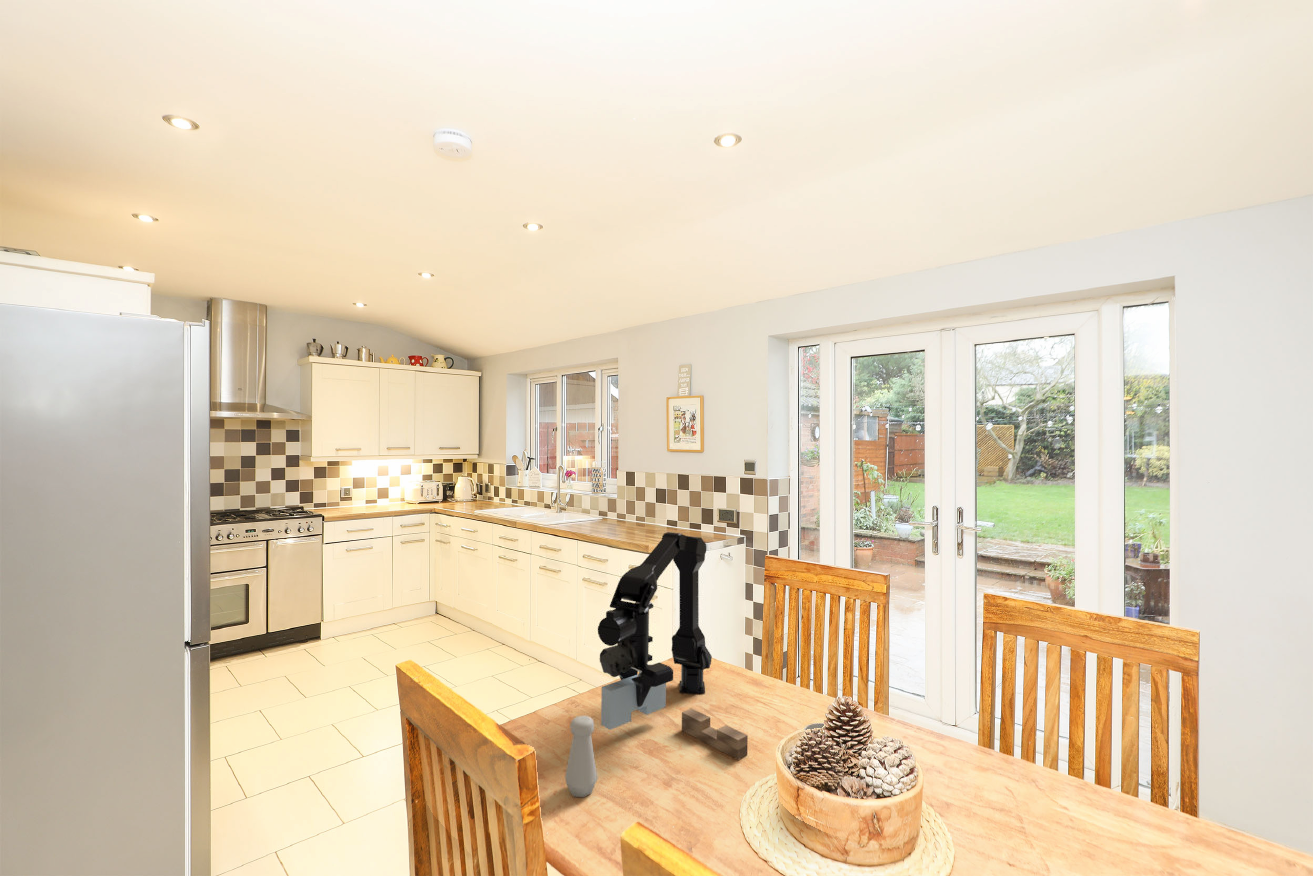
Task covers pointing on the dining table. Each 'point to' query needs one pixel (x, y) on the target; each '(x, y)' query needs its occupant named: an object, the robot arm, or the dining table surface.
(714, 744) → the walnut rail
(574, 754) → the salt shaker
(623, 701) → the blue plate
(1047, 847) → the dining table surface
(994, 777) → the dining table surface
